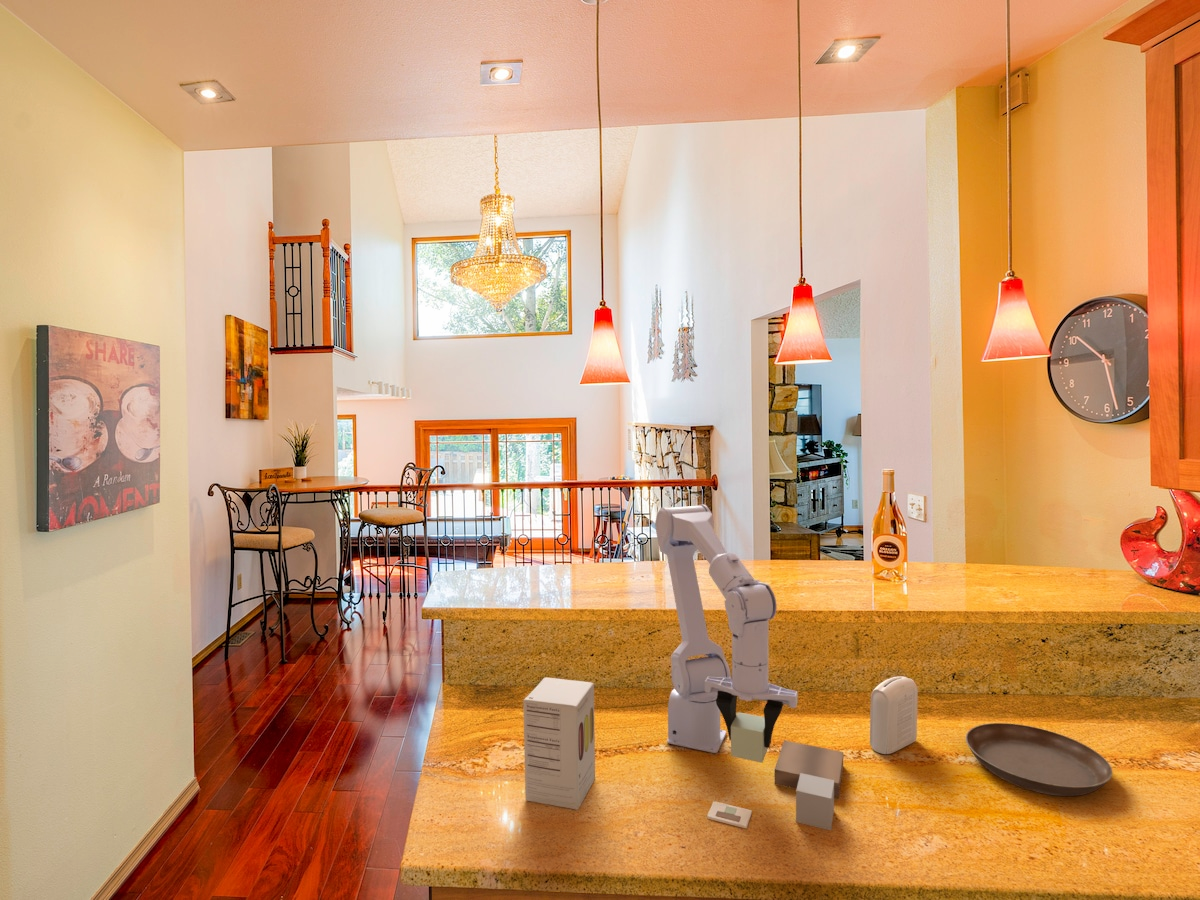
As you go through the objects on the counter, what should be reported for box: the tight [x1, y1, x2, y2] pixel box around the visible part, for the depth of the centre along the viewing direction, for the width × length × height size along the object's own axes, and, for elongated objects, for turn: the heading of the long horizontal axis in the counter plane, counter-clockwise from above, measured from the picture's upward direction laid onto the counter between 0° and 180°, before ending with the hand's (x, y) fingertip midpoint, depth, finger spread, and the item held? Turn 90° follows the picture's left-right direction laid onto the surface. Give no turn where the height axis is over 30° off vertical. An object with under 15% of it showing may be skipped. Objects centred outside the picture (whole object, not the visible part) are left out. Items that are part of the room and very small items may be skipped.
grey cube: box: [795, 773, 835, 831], centre depth 98 cm, size 5×5×5 cm
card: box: [706, 800, 753, 829], centre depth 98 cm, size 6×4×1 cm, turn 66°
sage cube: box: [730, 711, 769, 763], centre depth 104 cm, size 5×5×5 cm
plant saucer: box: [965, 722, 1113, 797], centre depth 110 cm, size 21×21×3 cm
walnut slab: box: [774, 740, 844, 799], centre depth 109 cm, size 10×10×3 cm
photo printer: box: [869, 675, 919, 755], centre depth 118 cm, size 10×4×12 cm, turn 123°
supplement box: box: [522, 676, 596, 811], centre depth 105 cm, size 10×9×17 cm
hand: (750, 741), depth 104 cm, fingers closed on sage cube, 5 cm apart
